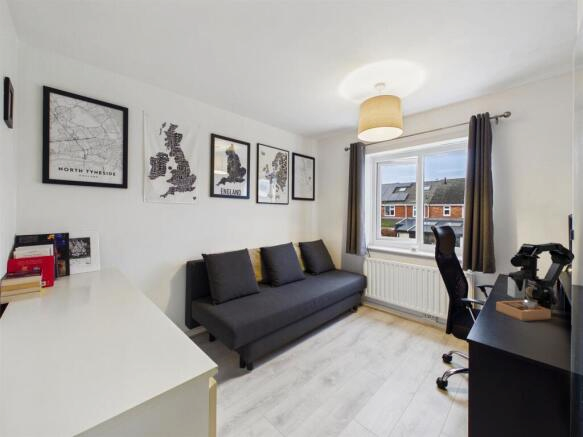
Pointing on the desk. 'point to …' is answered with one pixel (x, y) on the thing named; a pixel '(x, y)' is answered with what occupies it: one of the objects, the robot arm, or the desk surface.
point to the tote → (527, 315)
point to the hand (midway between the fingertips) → (528, 293)
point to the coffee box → (529, 290)
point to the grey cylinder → (529, 304)
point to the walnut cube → (517, 306)
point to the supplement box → (515, 289)
